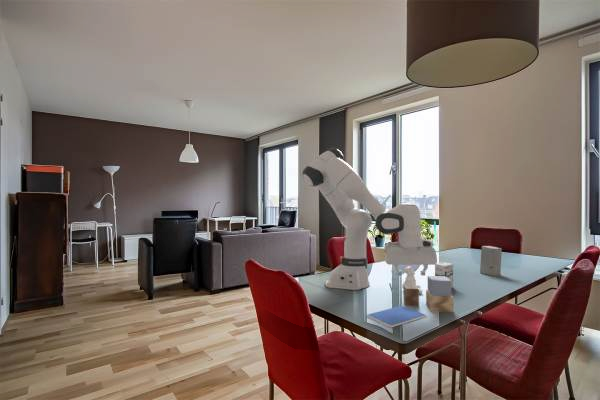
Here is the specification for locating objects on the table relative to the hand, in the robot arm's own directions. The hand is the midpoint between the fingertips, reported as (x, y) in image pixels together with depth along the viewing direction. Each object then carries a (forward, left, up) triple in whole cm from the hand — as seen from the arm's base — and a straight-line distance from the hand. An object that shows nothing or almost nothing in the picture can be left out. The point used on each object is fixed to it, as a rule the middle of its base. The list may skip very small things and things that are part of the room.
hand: (411, 275), depth 127 cm
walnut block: (0, 0, -12) cm, 12 cm away
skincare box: (+56, +57, -12) cm, 81 cm away
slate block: (+10, -4, -6) cm, 12 cm away
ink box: (+21, +26, -12) cm, 36 cm away
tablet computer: (-8, -15, -13) cm, 21 cm away
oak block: (+10, -4, -12) cm, 16 cm away
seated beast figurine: (+4, +18, -12) cm, 22 cm away
